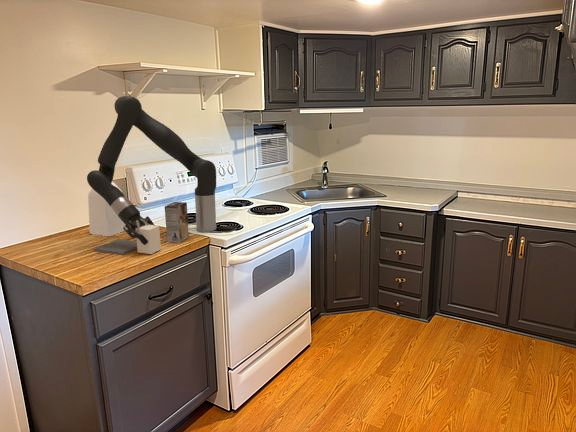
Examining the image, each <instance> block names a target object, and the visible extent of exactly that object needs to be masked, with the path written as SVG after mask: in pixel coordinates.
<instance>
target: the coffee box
mask: <svg viewBox="0 0 576 432" xmlns="http://www.w3.org/2000/svg"><path fill="white" fill-rule="evenodd" d="M164 217H165V231H166V242H167V243H179V244H181V243H182V242H183V241H185V240H186V239H188V238H189V237H190V235H189V219H188V218H189V217H188V203H187V202H186V201H185V202H183V201H173V202H171V203H169V204H167V205H165V206H164Z"/></svg>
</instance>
